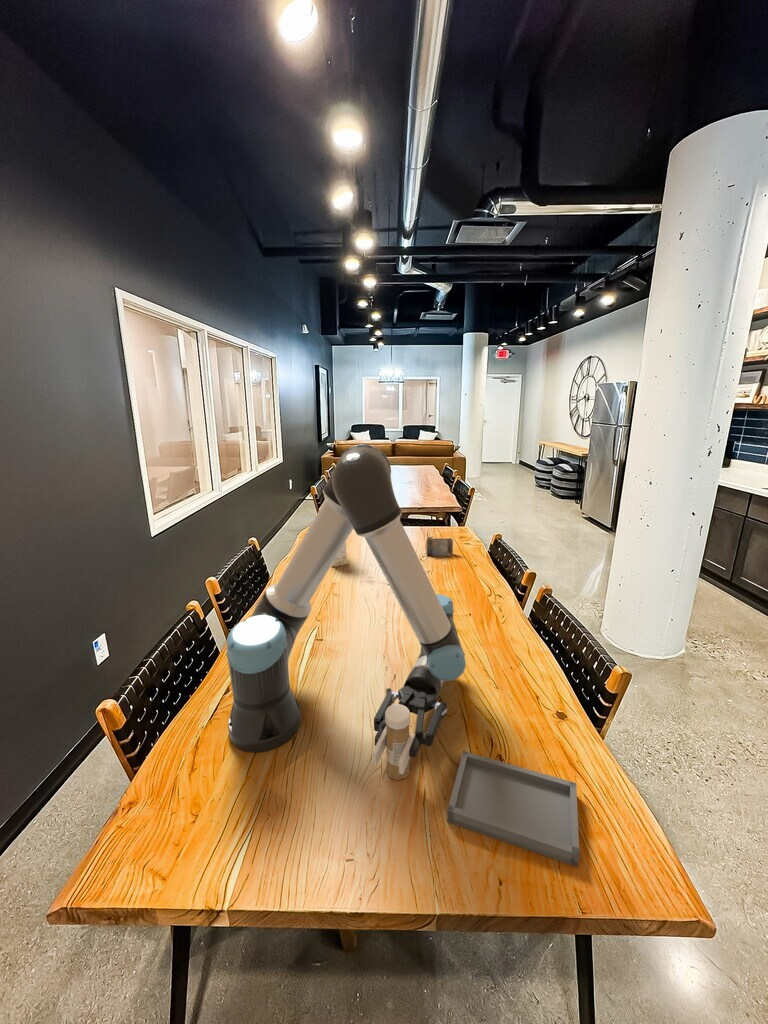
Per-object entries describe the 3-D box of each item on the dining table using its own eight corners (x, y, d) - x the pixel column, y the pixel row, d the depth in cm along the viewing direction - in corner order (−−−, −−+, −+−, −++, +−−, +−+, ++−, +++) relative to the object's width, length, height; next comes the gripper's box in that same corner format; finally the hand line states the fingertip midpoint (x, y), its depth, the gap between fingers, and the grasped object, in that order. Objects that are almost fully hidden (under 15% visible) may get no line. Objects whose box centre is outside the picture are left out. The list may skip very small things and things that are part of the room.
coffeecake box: (320, 555, 190) (318, 513, 185) (336, 553, 193) (334, 511, 187) (331, 567, 177) (329, 522, 171) (347, 564, 180) (345, 520, 174)
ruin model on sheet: (426, 557, 187) (427, 536, 184) (426, 554, 190) (426, 534, 187) (452, 557, 187) (453, 536, 184) (451, 554, 190) (452, 533, 187)
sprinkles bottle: (385, 762, 83) (383, 703, 80) (408, 759, 84) (408, 701, 80) (387, 782, 79) (386, 722, 75) (412, 780, 79) (412, 719, 76)
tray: (447, 821, 71) (447, 810, 71) (462, 761, 83) (463, 750, 82) (577, 867, 64) (579, 854, 64) (574, 794, 76) (576, 783, 75)
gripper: (463, 705, 93) (435, 796, 72) (388, 686, 99) (343, 765, 79) (464, 675, 91) (436, 760, 70) (388, 658, 97) (342, 732, 77)
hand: (387, 763), depth 75 cm, fingers closed on sprinkles bottle, 4 cm apart
